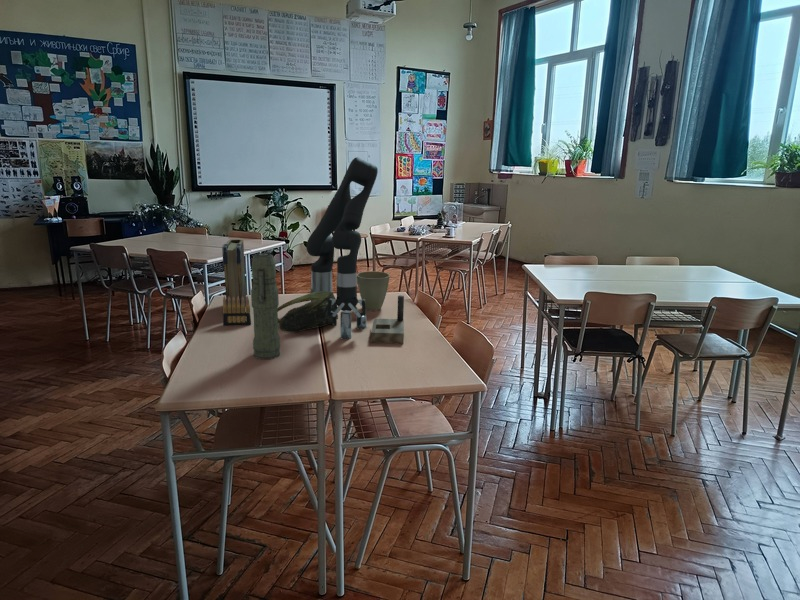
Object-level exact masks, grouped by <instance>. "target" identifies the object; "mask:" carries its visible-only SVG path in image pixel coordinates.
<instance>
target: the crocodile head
mask: <svg viewBox="0 0 800 600" xmlns="http://www.w3.org/2000/svg"><path fill="white" fill-rule="evenodd" d="M330 298H332V299H336V297H335V294H334V292H333V291H332V292H313V293H311V292H310V293H309V292H308V293H306V294H303V295H302V296H301V295H300V296H299V297H296V298H294V299H291V300H289V301H287V302H285V303H283V304H281V305H279V306H278V307H277V312H278V313H279V312H280V311H282V310H283V309H286V308H287V307H290V306H292V305H296V304H301V303H303V302H304V304H302V305H300V306H297V307H294V308H291V309H289V310H288V311H287V312H286V313H285V314H284V315H283V316H282V317H281V318H279V317H278V329H280V331H282V332H285V333H286V332H287V333H299V332H302V331H305V330H310V329H317V328H321V327H324V326H327V325H330V324H331V325H333V317H332V316H331V315H328V300H329V299H330ZM313 299H316V300H315V301H313V302H311V300H313ZM337 307H338V305H337V304H336V302H335V303H334V304H333V305H332V311H333V312H334V311H335V310H336V309H337ZM338 314H339V313H337V320H338V319H339V315H338Z"/></svg>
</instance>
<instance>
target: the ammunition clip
mask: <svg viewBox="0 0 800 600" xmlns="http://www.w3.org/2000/svg"><path fill="white" fill-rule="evenodd" d="M236 309H237V312H236ZM227 310H228V312H227ZM222 326H224V327H225V326H227V327H228V326H229V327H230V326H235V327H236V326H252V318H251V307H250V298H249V296H248V295H246V307H245V303H244V297H243V296H242V299H241V306H240V300H239V297H238V296H237V306H236V304H235V298H234V296H233V298H232V306H231V300H230V297H229V296H228V306H227V305H226V295H224V296H223V297H222Z"/></svg>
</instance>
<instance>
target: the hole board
mask: <svg viewBox="0 0 800 600" xmlns="http://www.w3.org/2000/svg"><path fill="white" fill-rule="evenodd" d="M404 305H405V295H403V294H402V295H398V296H397V314H396V315H397V317H396V318H373V320H372V321H373V323H372V326H371V327H372V328H371V331H370V332H371V335H370V336H371V338H370V339H371V340H370V343H371V342H372V344H395V343H399V344H401V345H404V343H405V342H404V341H405V339H404V338H405V329H404V328H405V322H404V321H405V320H404V311H405V310H404V309H405V308H404V307H405V306H404Z"/></svg>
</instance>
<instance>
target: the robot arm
mask: <svg viewBox="0 0 800 600" xmlns="http://www.w3.org/2000/svg"><path fill="white" fill-rule="evenodd" d="M378 170H379V169H378V167H377V166H376V165H375V164H373V163H371V162H369V161H367V160H365V159H362V158H360V157H358V156H357V157H354V158H352V160H351V162H350V163H349V166H348V168H347V169H346V171H345V174H344V176H343V179H342V180H341V182H340V185H339V187H338V189H337V191H336V192H335V193H334V195H333V197H332V199H331V201H330V202H329V204H328V206H327V208H326V209H325V212H324V214H323V216H322V217H321V219H320V221H319V223H318V224H317V226H316V227H315V228H314V230H313V231H312V233H311V234H310V236H309V237H308V239H307V241H306V252H307V254H308V255H309V256H311V257H318V258H317V260H315V262H313V263H312V264H311V266H310V271H311V272H310V277H311V280H310V281H311V288H310V293H313V292H333V265H334V260H335V258H334V257H335V249H336V250H347V251H349V253H348V254H346V255H341V256H338V258H337V260H336V265H337V266H336V267H337V268H336V297H335V299H332V298H330V299H329V300H328V315H331V316H332V317H333V323H332V325H334V327H337V325H338V319H337V314H339V313H340V312H342V311H350V312H352V311H353V313H354V314H355V315H356V328H357V327H359V325H361V317H362V316H365V315H366V316H367V310H366V303H365V299H358V281H357V260H358V255H359V251H360V248H361V244H362V236H361V233H360V232H359V231H357V230H358V229H360V226H361V223H362V219H363V215H364V211H365V207H366V205H367V202H368V200H369V198H370V196H371V193H372V191H373V187H374V185H375V183H376V180H377V177H378V173H379V172H378ZM352 182H353V183H356V184H358V185H360V186H362V187H363V189H362V190H361V191H360V192H359V193H357V194H356V195H355V196H354V197H351V183H352ZM315 300H316V299H313V300H310V302H313V301H315ZM335 302H336V304H337V309H336V310H335V311H334V312H333V311H332V305H333V304H334V303H335ZM358 304H359V305H360V306H361V311H360V310H359V308H358V307H357V305H358Z"/></svg>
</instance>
